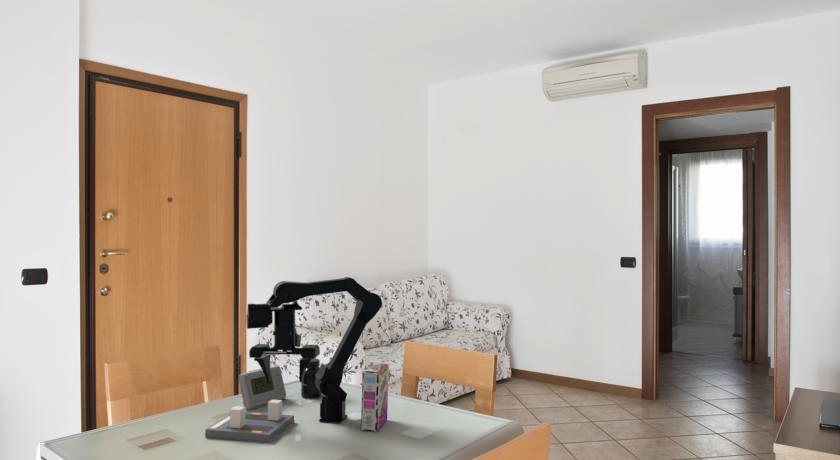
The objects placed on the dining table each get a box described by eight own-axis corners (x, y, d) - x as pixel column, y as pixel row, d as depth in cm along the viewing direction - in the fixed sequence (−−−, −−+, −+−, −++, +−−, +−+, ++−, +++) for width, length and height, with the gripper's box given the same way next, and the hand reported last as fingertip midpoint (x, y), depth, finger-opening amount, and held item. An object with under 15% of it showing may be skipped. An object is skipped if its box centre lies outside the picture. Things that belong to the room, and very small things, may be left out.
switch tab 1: (245, 424, 153) (245, 406, 153) (240, 428, 150) (240, 410, 150) (235, 423, 153) (235, 406, 153) (229, 427, 151) (229, 409, 151)
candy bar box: (378, 432, 154) (378, 372, 154) (360, 431, 155) (361, 371, 155) (388, 419, 165) (389, 363, 165) (372, 418, 166) (372, 362, 166)
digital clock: (244, 411, 171) (245, 376, 171) (231, 405, 177) (231, 371, 177) (292, 401, 182) (292, 368, 182) (278, 395, 188) (278, 363, 188)
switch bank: (294, 422, 161) (294, 415, 161) (269, 442, 146) (269, 434, 146) (235, 417, 165) (236, 410, 165) (205, 437, 149) (205, 429, 149)
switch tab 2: (282, 417, 159) (282, 400, 159) (277, 420, 157) (278, 403, 157) (272, 416, 160) (272, 399, 160) (267, 419, 157) (268, 402, 157)
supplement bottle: (297, 398, 185) (298, 361, 185) (305, 392, 192) (306, 357, 192) (318, 399, 184) (318, 362, 184) (324, 393, 191) (325, 358, 191)
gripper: (324, 321, 167) (324, 375, 167) (262, 321, 168) (263, 373, 168) (314, 328, 155) (314, 385, 155) (248, 327, 157) (248, 384, 157)
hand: (285, 381), depth 159 cm, fingers open, 9 cm apart
